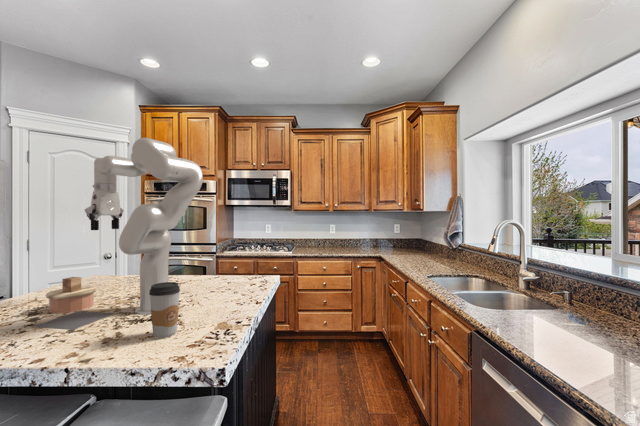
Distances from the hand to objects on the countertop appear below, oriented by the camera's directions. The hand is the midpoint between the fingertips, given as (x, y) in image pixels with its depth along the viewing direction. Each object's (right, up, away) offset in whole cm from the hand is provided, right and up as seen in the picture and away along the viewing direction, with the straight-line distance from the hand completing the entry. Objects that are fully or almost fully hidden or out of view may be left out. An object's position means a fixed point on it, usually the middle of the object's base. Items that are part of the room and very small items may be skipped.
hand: (105, 229), depth 127 cm
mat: (+6, -30, -23) cm, 38 cm away
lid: (-7, -24, -9) cm, 27 cm away
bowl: (-7, -30, -9) cm, 32 cm away
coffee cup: (+42, -30, -35) cm, 63 cm away
